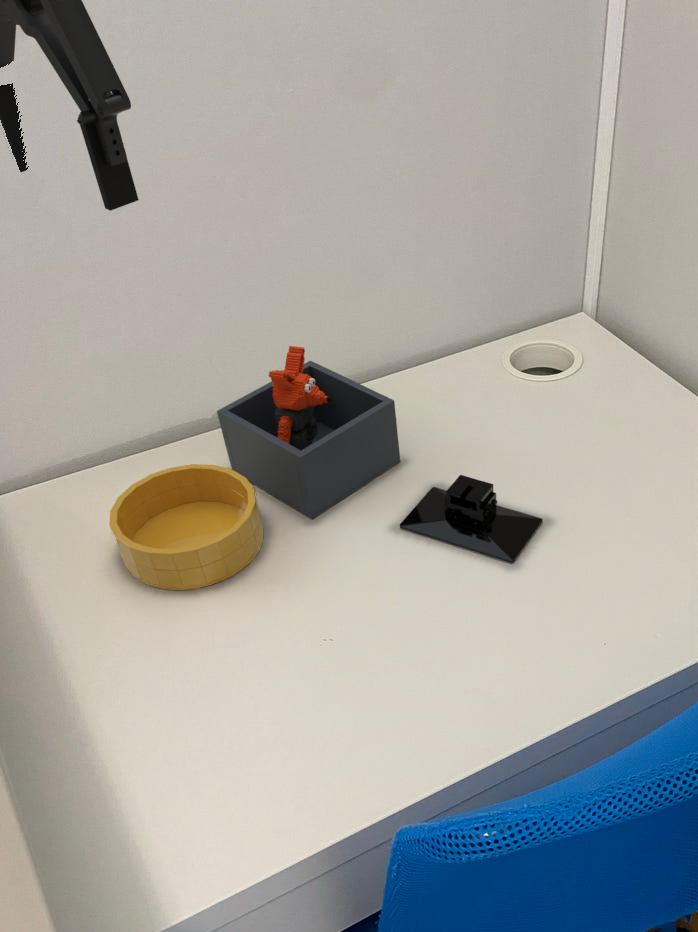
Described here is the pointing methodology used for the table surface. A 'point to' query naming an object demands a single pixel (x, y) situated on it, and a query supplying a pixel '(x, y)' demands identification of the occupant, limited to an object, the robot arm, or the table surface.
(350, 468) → the bin
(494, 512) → the build plate
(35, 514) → the table surface
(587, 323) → the table surface
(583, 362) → the table surface
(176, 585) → the bowl
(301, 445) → the toy animal
